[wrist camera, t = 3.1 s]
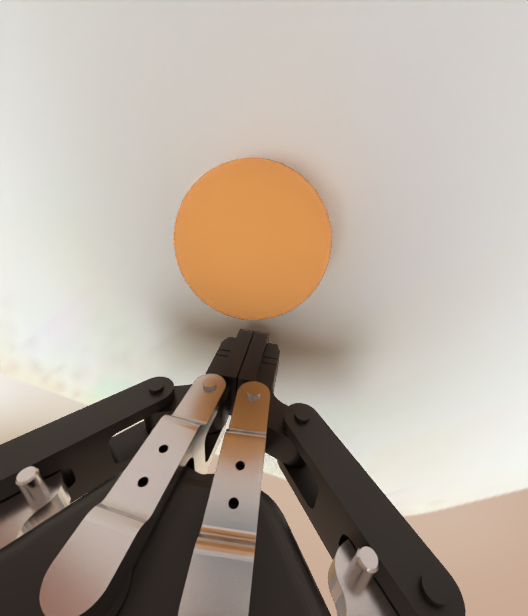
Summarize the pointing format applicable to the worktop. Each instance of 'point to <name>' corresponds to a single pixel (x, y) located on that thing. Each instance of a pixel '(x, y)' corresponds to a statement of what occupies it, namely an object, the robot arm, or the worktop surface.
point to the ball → (252, 238)
